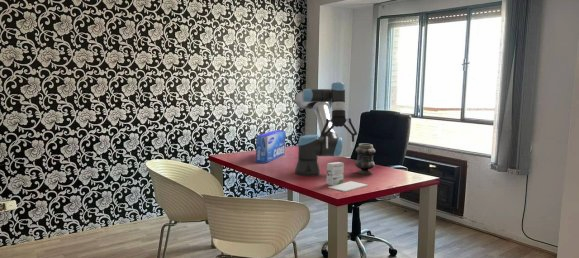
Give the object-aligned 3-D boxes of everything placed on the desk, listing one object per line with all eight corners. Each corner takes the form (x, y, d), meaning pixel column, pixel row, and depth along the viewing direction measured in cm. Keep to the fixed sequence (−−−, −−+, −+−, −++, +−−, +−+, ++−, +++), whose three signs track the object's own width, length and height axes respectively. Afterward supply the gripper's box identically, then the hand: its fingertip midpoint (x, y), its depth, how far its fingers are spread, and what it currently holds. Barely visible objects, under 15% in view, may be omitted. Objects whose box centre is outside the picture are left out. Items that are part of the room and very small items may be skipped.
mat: (328, 188, 231) (328, 186, 231) (351, 182, 245) (351, 181, 245) (345, 192, 224) (345, 190, 223) (367, 185, 238) (367, 184, 238)
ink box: (337, 182, 245) (338, 161, 244) (343, 184, 241) (344, 162, 240) (325, 183, 240) (326, 162, 239) (331, 185, 236) (332, 164, 235)
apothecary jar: (378, 173, 270) (379, 144, 268) (366, 176, 262) (367, 146, 260) (362, 170, 279) (363, 142, 277) (350, 172, 270) (351, 143, 268)
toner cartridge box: (266, 163, 294) (267, 136, 292) (255, 162, 296) (255, 135, 294) (285, 154, 331) (285, 130, 329) (274, 153, 333) (275, 129, 331)
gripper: (315, 110, 245) (316, 148, 243) (360, 108, 240) (361, 147, 238) (317, 111, 252) (317, 148, 251) (361, 110, 247) (362, 147, 246)
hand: (339, 148), depth 244 cm, fingers open, 13 cm apart
